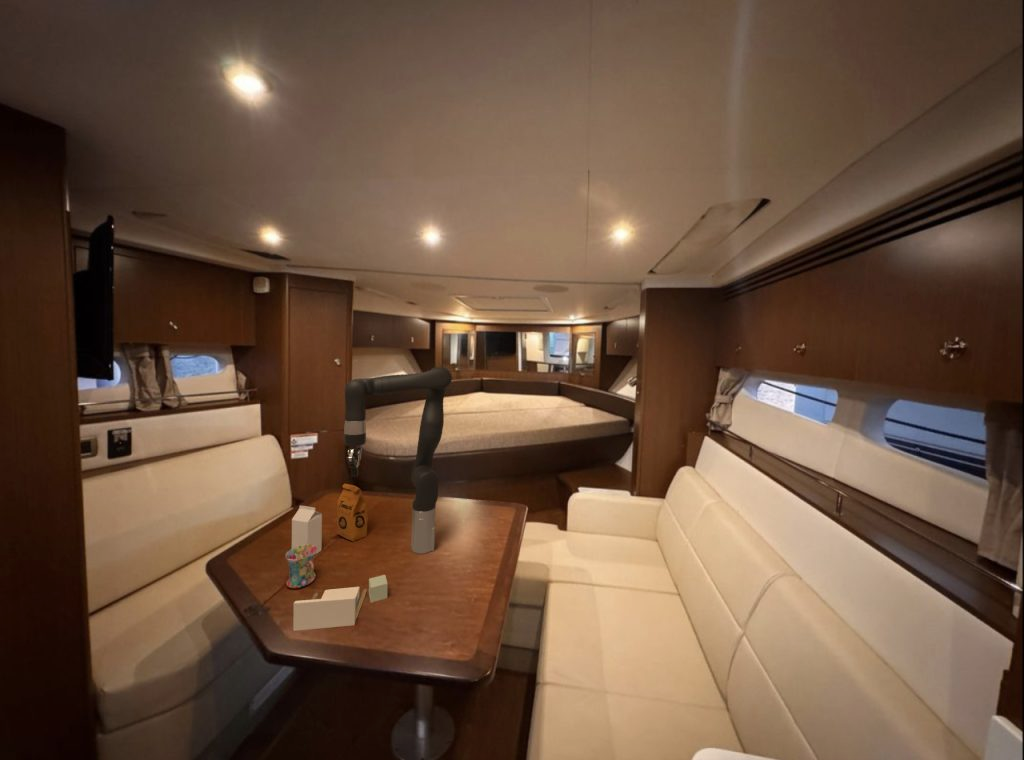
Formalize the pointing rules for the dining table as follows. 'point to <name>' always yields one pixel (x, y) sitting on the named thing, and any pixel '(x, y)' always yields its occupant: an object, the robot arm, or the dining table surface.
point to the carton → (342, 593)
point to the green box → (378, 588)
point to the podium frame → (357, 605)
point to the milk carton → (307, 528)
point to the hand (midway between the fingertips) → (354, 476)
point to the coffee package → (351, 513)
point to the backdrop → (324, 613)
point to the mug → (300, 565)
